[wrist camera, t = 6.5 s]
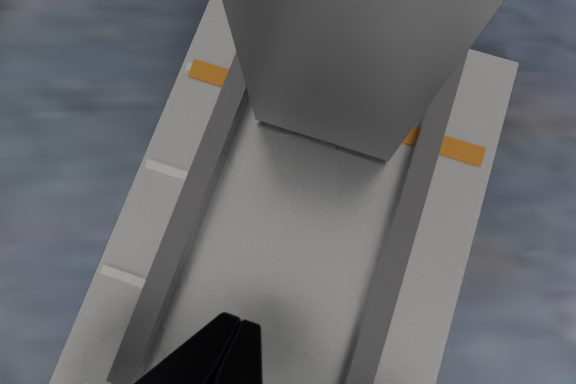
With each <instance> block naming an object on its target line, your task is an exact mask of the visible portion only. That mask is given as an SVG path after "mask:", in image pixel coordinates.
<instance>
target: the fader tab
mask: <svg viewBox="0 0 576 384" xmlns="http://www.w3.org/2000/svg"><path fill="white" fill-rule="evenodd" d="M503 1H504V0H222V2H223V5H224V9H225V13H226V16H227V20H228V23H229V27H230V30H231V34H232V38H233V41H234V45H235V48H236V52H237V55H238V59H239V63H240V66H241V70H242V73H243V77H244V80H245V84H246V88H247V91H248V95H249V98H250V102H251V106H252V109H253V113H254V116H255V119H256V120H259V121H262V122H265V123H268V124H272V125H275V126H278V127H281V128H284V129H288V130H291V131H294V132H297V133H300V134H303V135H307V136H310V137H313V138H316V139H319V140H322V141H326V142H329V143H332V144H335V145H338V146H342V147H345V148H348V149H351V150H354V151H357V152H361V153H364V154H367V155H370V156H373V157H377V158H380V159H383V160H386V161H390V159H391V158H392V156H393V155H394V154H395V152H396V151H397V149H398V148H399V147H400V145H401V144H402V142H403V141H404V140H405V138H406V137H407V135H408V134H409V133H410V131H411V130H412V128H413V127H414V126H415V124H416V123H417V121H418V120H419V119H420V117H421V116H422V115H423V113H424V112H425V110H426V109H427V108H428V106H429V105H430V103H431V102H432V101H433V99H434V98H435V96H436V95H437V94H438V92H439V91H440V89H441V88H442V87H443V85H444V84H445V82H446V81H447V80H448V78H449V77H450V75H451V74H452V73H453V71H454V70H455V68H456V67H457V66H458V64H459V63H460V61H461V60H462V59H463V57H464V56H465V54H466V53H467V52H468V50H469V49H470V47H471V46H472V45H473V43H474V42H475V40H476V39H477V38H478V36H479V35H480V34H481V32H482V31H483V29H484V28H485V27H486V25H487V24H488V22H489V21H490V20H491V18H492V17H493V15H494V14H495V13H496V11H497V10H498V8H499V7H500V6H501V4H502V3H503Z"/></svg>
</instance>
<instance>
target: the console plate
mask: <svg viewBox="0 0 576 384" xmlns="http://www.w3.org/2000/svg"><path fill="white" fill-rule="evenodd" d="M518 65H519V63H518V62H514V61H511V60H507V59H504V58H500V57H497V56H493V55H490V54H486V53H483V52H479V51H475V50H472V49H469V50H468V52H467V53H466V54H465V56H464V57H463V59H462V60H461V61H460V63H459V64H458V66H457V67H456V68H455V70H454V71H453V73H452V74H451V75H450V77H449V78H448V80H447V81H446V82H445V84H444V85H443V87H442V88H441V89H440V91H439V92H438V94H437V95H436V96H435V98H434V99H433V101H432V102H431V103H430V105H429V106H428V108H427V109H426V110H425V112H424V113H423V115H422V116H421V117H420V119H419V120H418V121H417V123H416V124H415V126H414V127H413V128H412V130H411V131H410V133H409V134H408V135H407V137H406V138H405V140H404V141H403V142H402V144H401V145H400V147H399V148H398V149H397V151H396V152H395V154H394V155H393V156H392V158H391V159H390V161H386V160H383V159H380V158H377V157H373V156H370V155H367V154H364V153H361V152H357V151H354V150H351V149H348V148H345V147H342V146H338V145H335V144H332V143H329V142H326V141H322V140H319V139H316V138H313V137H310V136H307V135H303V134H300V133H297V132H294V131H291V130H288V129H284V128H281V127H278V126H275V125H272V124H268V123H265V122H262V121H259V120H256V119H255V116H254V113H253V109H252V106H251V102H250V98H249V95H248V91H247V88H246V84H245V80H244V77H243V73H242V70H241V66H240V63H239V59H238V55H237V52H236V48H235V45H234V41H233V38H232V34H231V30H230V27H229V23H228V20H227V16H226V13H225V9H224V5H223V2H222V0H209V2H208V5H207V7H206V10H205V12H204V14H203V17H202V19H201V22H200V24H199V26H198V29H197V31H196V33H195V36H194V38H193V41H192V43H191V45H190V48H189V50H188V53H187V55H186V57H185V60H184V62H183V65H182V67H181V69H180V72H179V74H178V77H177V79H176V81H175V84H174V86H173V88H172V91H171V93H170V96H169V98H168V100H167V103H166V105H165V108H164V110H163V112H162V115H161V117H160V120H159V122H158V124H157V127H156V129H155V131H154V134H153V136H152V139H151V141H150V143H149V146H148V148H147V151H146V153H145V155H144V158H143V160H142V163H141V165H140V167H139V170H138V172H137V175H136V177H135V179H134V182H133V184H132V186H131V189H130V191H129V194H128V196H127V198H126V201H125V203H124V206H123V208H122V210H121V213H120V215H119V218H118V220H117V222H116V225H115V227H114V229H113V232H112V234H111V237H110V239H109V241H108V244H107V246H106V249H105V251H104V253H103V256H102V258H101V261H100V263H99V265H98V268H97V270H96V272H95V275H94V277H93V280H92V282H91V284H90V287H89V289H88V292H87V294H86V296H85V299H84V301H83V304H82V306H81V308H80V311H79V313H78V316H77V318H76V320H75V323H74V325H73V327H72V330H71V332H70V335H69V337H68V339H67V342H66V344H65V347H64V349H63V351H62V354H61V356H60V359H59V361H58V363H57V366H56V368H55V370H54V373H53V375H52V378H51V380H50V382H49V384H133V383H134V382H136V381H137V380H138V379H139V378H141V377H142V376H143V375H144V374H146V373H147V372H148V371H149V370H151V369H152V368H153V367H154V366H156V365H157V364H158V363H159V362H160V361H162V360H163V359H164V358H165V357H167V356H168V355H169V354H170V353H172V352H173V351H174V350H175V349H177V348H178V347H179V346H180V345H182V344H183V343H184V342H185V341H187V340H188V339H189V338H190V337H191V336H193V335H194V334H195V333H196V332H198V331H199V330H200V329H201V328H203V327H204V326H205V325H206V324H208V323H209V322H210V321H211V320H213V319H214V318H215V317H216V316H217V315H219V314H220V313H222V312H228V313H230V314H233V315H236V316H239V317H240V318H241V321H242V320H243V319H247V320H250V321H253V322H255V323H258V324H260V325H261V331H262V373H263V384H436V380H437V376H438V372H439V369H440V365H441V361H442V357H443V353H444V349H445V346H446V342H447V338H448V334H449V330H450V326H451V322H452V319H453V315H454V311H455V307H456V303H457V299H458V296H459V292H460V288H461V284H462V280H463V276H464V272H465V269H466V265H467V261H468V257H469V253H470V249H471V246H472V242H473V238H474V234H475V230H476V226H477V222H478V219H479V215H480V211H481V207H482V203H483V199H484V196H485V192H486V188H487V184H488V180H489V176H490V172H491V169H492V165H493V161H494V157H495V153H496V149H497V146H498V142H499V138H500V134H501V130H502V126H503V122H504V119H505V115H506V111H507V107H508V103H509V99H510V96H511V92H512V88H513V84H514V80H515V76H516V72H517V69H518Z"/></svg>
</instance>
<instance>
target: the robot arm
mask: <svg viewBox="0 0 576 384" xmlns="http://www.w3.org/2000/svg"><path fill="white" fill-rule="evenodd" d="M133 384H263V373H262V331H261V325H260V324H258V323H255V322H253V321H250V320H247V319H243V320H242V321H241V318H240V317H239V316H236V315H233V314H230V313H228V312H222V313H220V314H219V315H217V316H216V317H215V318H214V319H213V320H211V321H210V322H209V323H208V324H206V325H205V326H204V327H203V328H201V329H200V330H199V331H198V332H196V333H195V334H194V335H193V336H191V337H190V338H189V339H188V340H187V341H185V342H184V343H183V344H182V345H180V346H179V347H178V348H177V349H175V350H174V351H173V352H172V353H170V354H169V355H168V356H167V357H165V358H164V359H163V360H162V361H160V362H159V363H158V364H157V365H156V366H154V367H153V368H152V369H151V370H149V371H148V372H147V373H146V374H144V375H143V376H142V377H141V378H139V379H138V380H137V381H136V382H134V383H133Z"/></svg>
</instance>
